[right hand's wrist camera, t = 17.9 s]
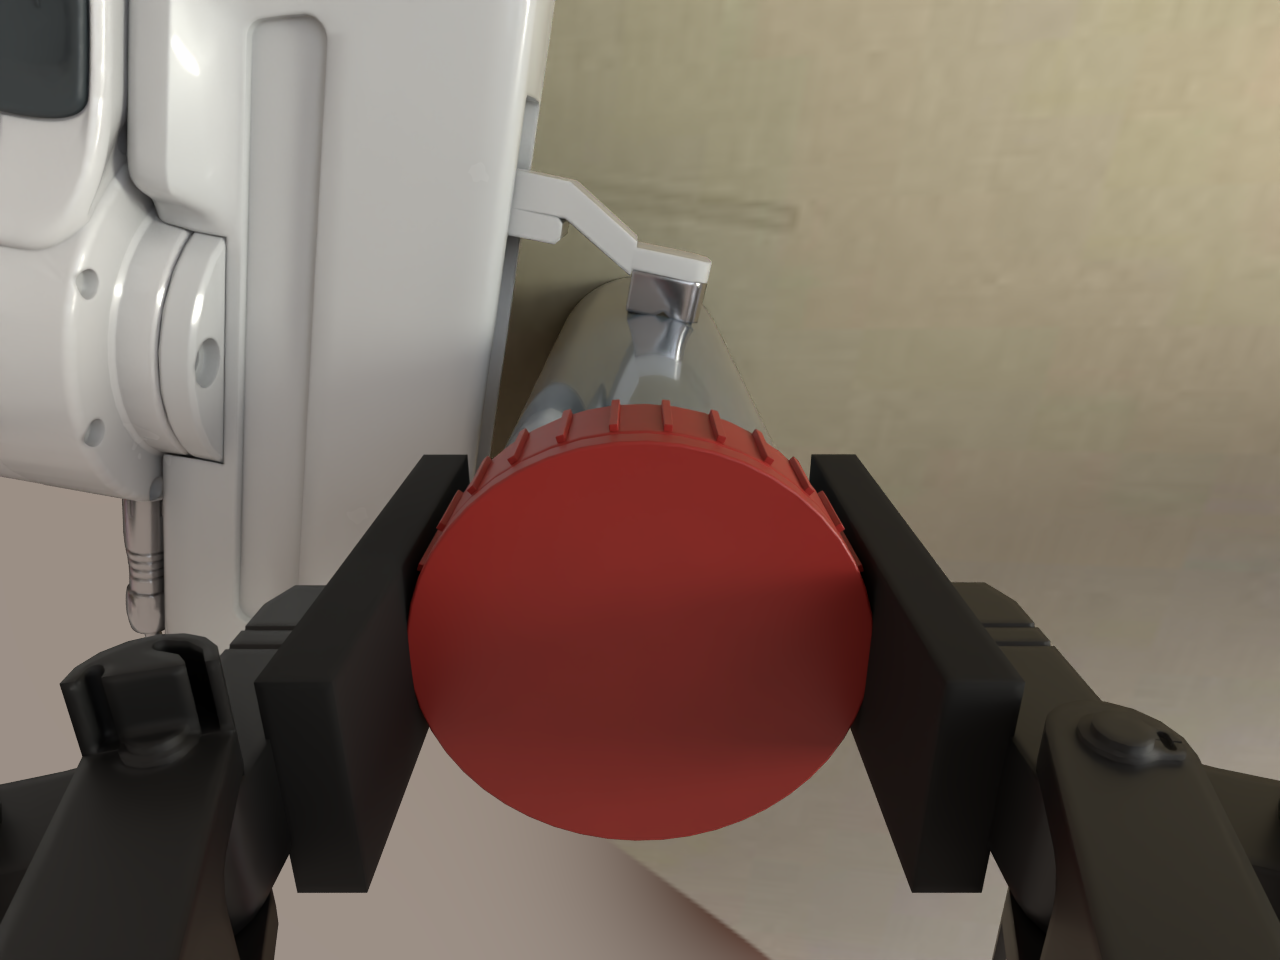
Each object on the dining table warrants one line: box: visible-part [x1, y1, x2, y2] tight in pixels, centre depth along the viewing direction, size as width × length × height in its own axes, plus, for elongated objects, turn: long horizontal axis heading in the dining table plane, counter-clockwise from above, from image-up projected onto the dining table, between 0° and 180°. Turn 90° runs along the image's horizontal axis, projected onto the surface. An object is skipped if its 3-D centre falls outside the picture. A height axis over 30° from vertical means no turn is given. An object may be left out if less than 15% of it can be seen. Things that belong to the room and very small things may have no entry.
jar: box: [504, 277, 776, 449], centre depth 19 cm, size 6×6×16 cm
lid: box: [407, 399, 872, 841], centre depth 11 cm, size 6×6×2 cm
